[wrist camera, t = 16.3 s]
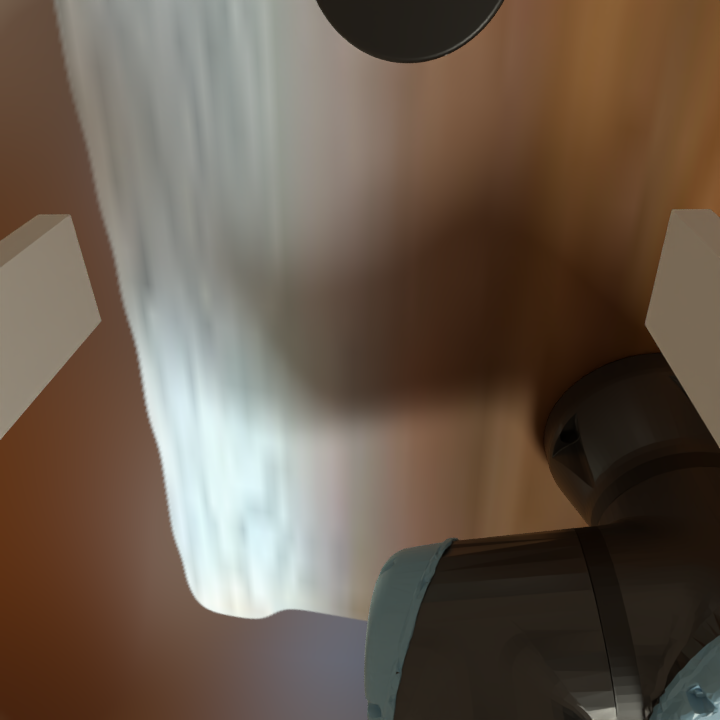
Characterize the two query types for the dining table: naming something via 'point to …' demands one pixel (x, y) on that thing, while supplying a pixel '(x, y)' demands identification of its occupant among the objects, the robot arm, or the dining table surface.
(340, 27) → the jar
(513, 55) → the dining table surface
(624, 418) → the robot arm
